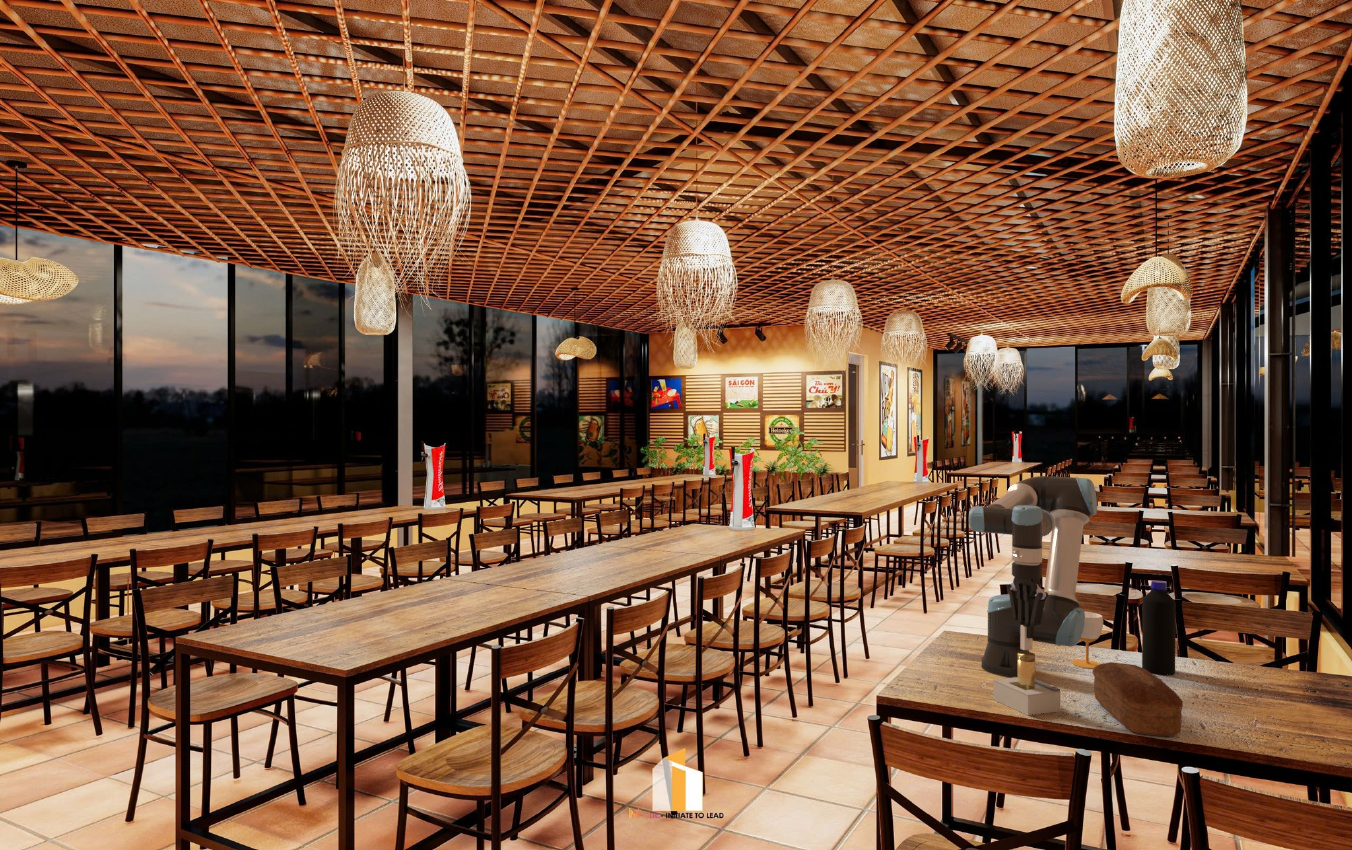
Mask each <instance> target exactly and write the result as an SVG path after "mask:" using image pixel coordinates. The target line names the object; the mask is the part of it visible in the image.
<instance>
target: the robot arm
mask: <svg viewBox="0 0 1352 850" xmlns="http://www.w3.org/2000/svg"><path fill="white" fill-rule="evenodd" d="M1097 512H1098V498H1097V492H1096V486H1095V484H1094V482H1093V481H1092V480H1091V479H1090V478H1085V477H1078V476H1075V477H1069V476H1047V475H1040V476H1039V475H1038V476H1034V477H1029V478H1026V479H1022V480H1020V481H1018V482H1016V483H1014V484H1013V485H1011V486H1009V488H1008V490H1007V491H1006V493H1005V494H1004V495H1002V496H1000V497H999V498H997V499H996V500H994V501H993V502H991V503H990V504H989V505H987V506H982V505H980V506H978V505H977V506H975V505H974V506H973V507H971V508H970V510H969V513H968V525H969V528H970V529H971V531H973V532H979V533H983V534H984V533H987V534H997V535H998V534H1000V535H1010V536H1011V560H1012V561H1013V562H1012V563H1011V575H1012V577H1013V579H1012V582H1011V583H1007V584H1006V587H1005V588H1006V589H1007V591H1008V593H1007V594H998V595H994V596H991V597H990V598H989V599H988V604H987V611H986V613H987V644H986V647H985V650H984V653H983V656H982V657H981V668H982V669H983V670H984V671H986V672H988V673H991V674H994V675H998V676H999V675H1000V676H1004V677H1005V676H1006V677H1010V678H1014V677H1018V665H1017V653H1018V652H1030V650H1031V651H1032V650H1033V641H1034V642H1039V643H1044V644H1050V645H1056V646H1058V647H1062V646H1063V647H1068V648H1069V647H1075V646H1076V645H1077V644H1079V641H1080V640H1081V639H1080V638H1081V636H1082V633H1083V629H1084V623H1085V622H1084V620H1085V613H1084V612H1085V611H1084V610H1083V608H1081V607H1080V606H1081V603H1080V601H1078V599H1077V598H1076V590H1077V583H1078V573H1079V565H1080V558H1081V557H1080V556H1081V549H1082V542H1083V541H1082V539H1083V531H1084V525H1086V524H1088V523H1089V522H1090V519H1091V516H1096V515H1097ZM1050 533H1051V536H1050V543H1049V550H1048V558H1047V565H1046V572H1045V581H1044V587H1043V588H1044V589H1042V585H1041V582H1040V581H1041V579H1042V577H1043V565H1042V563H1043V537H1046V536H1048V535H1049V534H1050Z"/></svg>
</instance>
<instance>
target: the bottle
mask: <svg viewBox="0 0 1352 850" xmlns="http://www.w3.org/2000/svg"><path fill="white" fill-rule="evenodd" d="M1150 583H1151V584H1150V591H1149V592H1148V593H1147V594H1146V595H1144V596H1143V597H1142V600H1141V601H1142V606H1141V607H1142V609H1141V610H1142V612H1141V613H1142V614H1141V615H1142V617H1141V618H1142V619H1141V622H1142V625H1141V626H1142V628H1141V630H1142V631H1141V632H1142V634H1141V635H1142V636H1141V637H1142V640H1141V641H1142V642H1141V644H1142V645H1141V668H1143V669H1145V670H1147V671H1149V672H1150V673H1152V674H1153V675H1158V676H1159V675H1160V676H1173V675H1175V674H1176V619H1177V618H1176V616H1177V615H1176V609H1177V607H1176V606H1177V605H1176V604H1177V603H1176V601H1175V599H1174V598H1173V597H1172V596H1171V595H1170V594H1169V593H1168V590H1167V586H1168V585H1167V582H1166V581H1163V580H1151V581H1150Z"/></svg>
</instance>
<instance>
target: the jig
mask: <svg viewBox="0 0 1352 850" xmlns="http://www.w3.org/2000/svg"><path fill="white" fill-rule="evenodd" d="M992 683H993V685H992V686H993V689H992V691H993V694H992V698H993V699H992V700H994V701H996V702H998V703H1000V704H1002V705H1004V706H1007V707H1008V706H1009V707H1008V708H1011V709H1012V710H1015V711H1017V710H1018V711H1017V712H1019V711H1020V712H1019V713H1021V712H1022V714H1023V713H1025V714H1026V716H1028V715H1029V716H1035V714H1036V715H1043V713H1044V714H1050V713H1057V712H1061V688H1059V687H1056V686H1055V685H1053V684H1049V683H1046V682H1045V681H1043V680H1040V679H1037V678H1035V689H1032V690H1024V689H1021V688H1019V687H1018V677H1006V678H999V679H993V682H992ZM1041 713H1042V714H1041ZM1025 714H1024V715H1025ZM1032 714H1033V715H1032Z"/></svg>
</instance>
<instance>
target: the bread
mask: <svg viewBox="0 0 1352 850" xmlns="http://www.w3.org/2000/svg"><path fill="white" fill-rule="evenodd" d="M1092 674H1093V677H1094V680H1093V688H1094V690H1093V691H1094V698H1095V700H1096V701H1097V702H1098V704H1100V705H1101V706H1102V707H1103V708H1104V709H1106V711H1107V712H1108V713H1109V715H1111V716H1112V717H1113V718H1115V719H1116V720H1117V721H1118V722H1120V723H1121V724H1122V725H1123V727H1124V728H1126V729H1128V730H1129V731H1131V732H1133V733H1136V734H1141V735H1142V734H1143V735H1149V736H1159V737H1160V736H1161V737H1168V736H1169V737H1170V736H1171V737H1173V736H1177V735H1178V734H1179V733H1181V729H1182V718H1183V717H1182V716H1183V715H1182V710H1183V704H1184V703H1183V702H1184V701H1183V700H1182V699H1181V698H1180V696H1179V695H1178V694H1177V693H1176V692H1175V691H1174V689H1173V688H1171V687H1170V686H1169V685H1167V684H1166V682H1164V681H1162V679H1160V678H1159V677H1157V676H1156V674H1152V673H1150V672H1149V671H1147V670H1145V669H1143V668H1142V666H1139V665H1136V664H1131V663H1123V662H1121V663H1120V662H1113V661H1110V662H1106V663H1100V665H1098V666H1096V667H1094V669H1092Z"/></svg>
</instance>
